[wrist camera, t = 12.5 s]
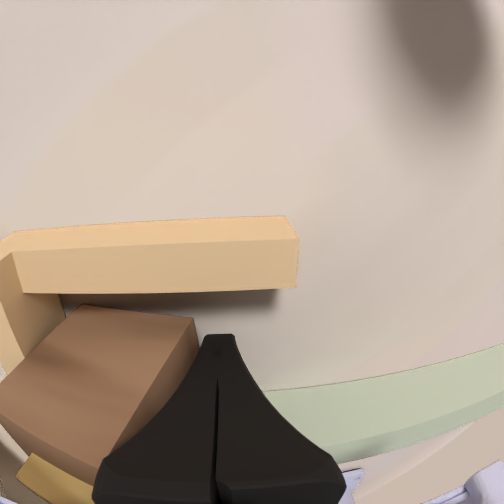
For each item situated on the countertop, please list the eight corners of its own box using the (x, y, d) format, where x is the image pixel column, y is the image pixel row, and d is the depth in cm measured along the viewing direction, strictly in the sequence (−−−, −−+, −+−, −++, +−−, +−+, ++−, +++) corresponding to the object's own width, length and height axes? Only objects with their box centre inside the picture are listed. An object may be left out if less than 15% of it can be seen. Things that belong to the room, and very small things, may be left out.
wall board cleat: (492, 366, 16) (518, 399, 12) (82, 411, 14) (65, 460, 11) (543, 219, 12) (586, 243, 8) (14, 231, 10) (-38, 269, 7)
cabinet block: (215, 411, 12) (154, 559, 6) (118, 390, 13) (43, 503, 7) (193, 317, 10) (76, 509, 4) (81, 304, 11) (-37, 424, 5)
